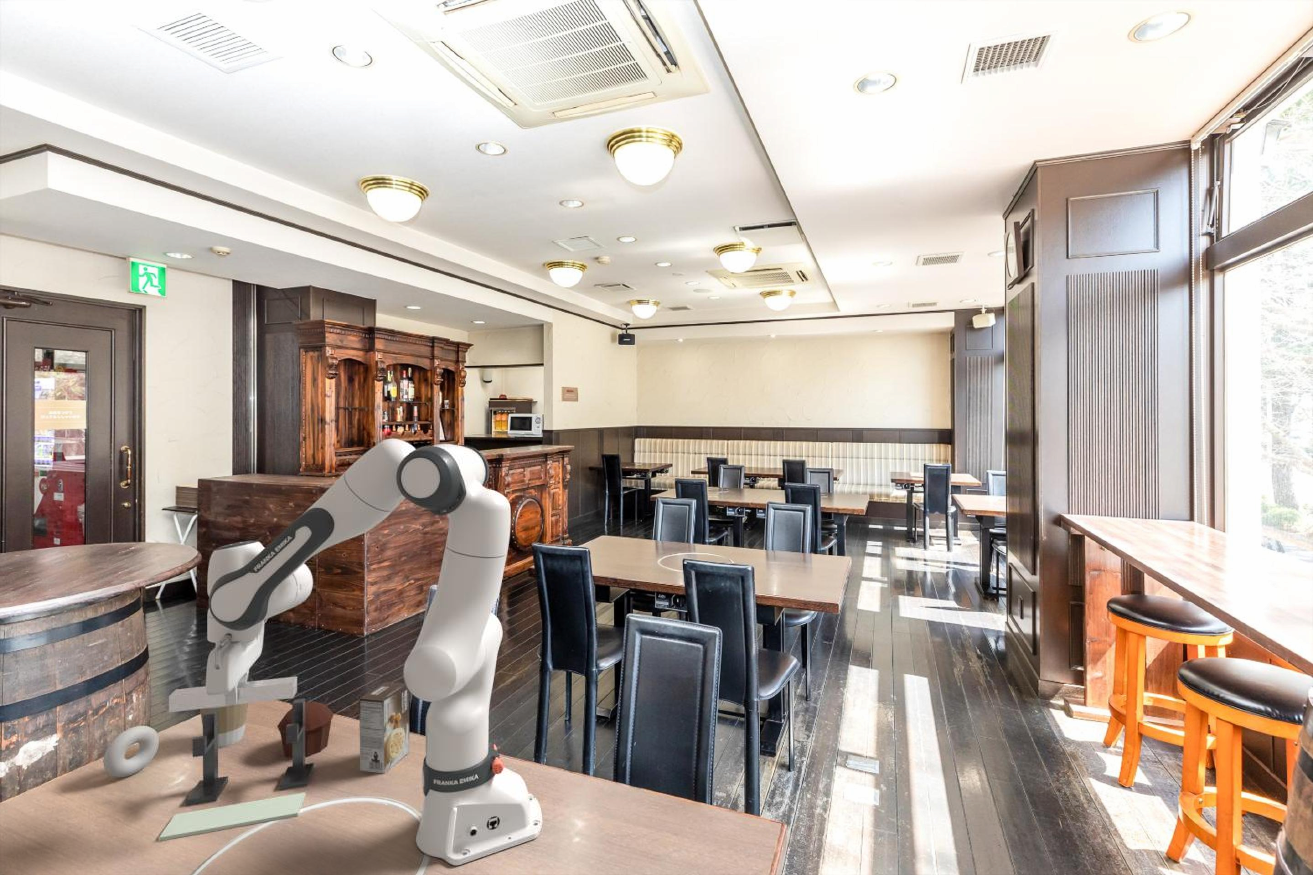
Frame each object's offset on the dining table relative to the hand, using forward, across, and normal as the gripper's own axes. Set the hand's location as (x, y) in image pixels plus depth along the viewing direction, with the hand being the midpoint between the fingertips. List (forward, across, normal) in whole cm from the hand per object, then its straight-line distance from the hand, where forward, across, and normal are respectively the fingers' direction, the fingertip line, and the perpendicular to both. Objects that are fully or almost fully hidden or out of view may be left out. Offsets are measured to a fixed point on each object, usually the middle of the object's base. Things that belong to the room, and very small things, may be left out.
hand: (235, 698), depth 115 cm
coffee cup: (+23, +34, +12) cm, 43 cm away
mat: (+23, 0, 0) cm, 23 cm away
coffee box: (+23, +12, -25) cm, 36 cm away
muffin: (+23, +24, -7) cm, 34 cm away
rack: (+23, +9, 0) cm, 24 cm away
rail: (+1, 0, 0) cm, 1 cm away
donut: (+23, +24, +26) cm, 42 cm away
